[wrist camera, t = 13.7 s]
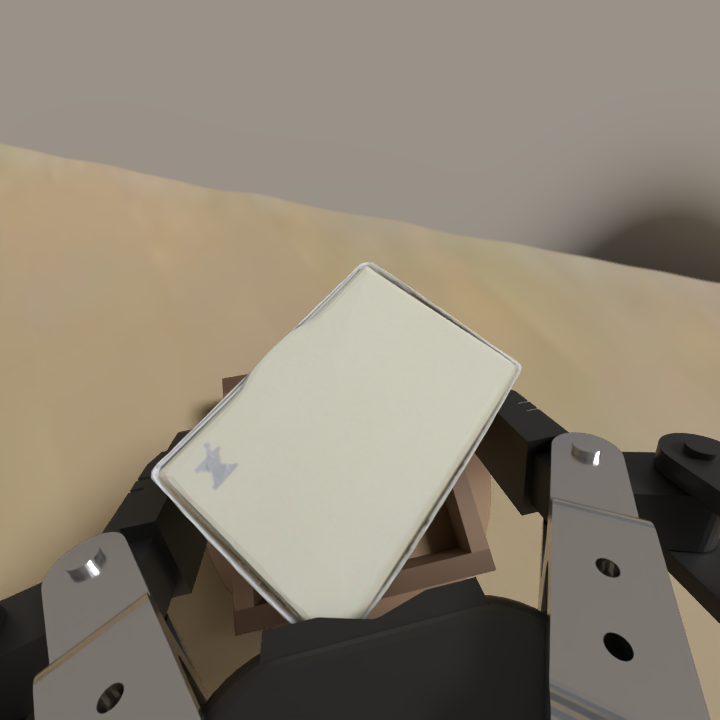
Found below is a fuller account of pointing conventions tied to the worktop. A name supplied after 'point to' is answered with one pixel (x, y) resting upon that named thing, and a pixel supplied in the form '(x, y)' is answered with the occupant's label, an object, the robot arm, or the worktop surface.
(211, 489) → the skincare box
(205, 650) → the worktop surface
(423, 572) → the walnut stand
